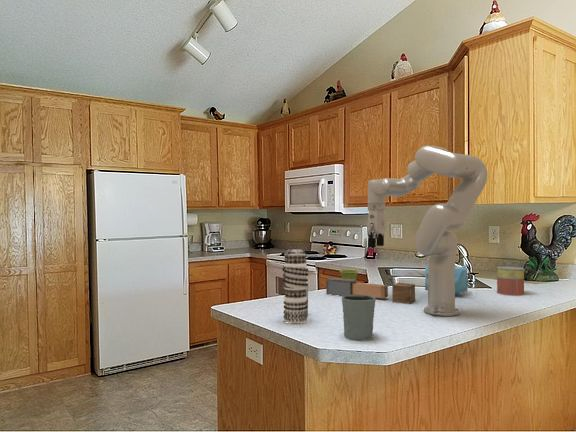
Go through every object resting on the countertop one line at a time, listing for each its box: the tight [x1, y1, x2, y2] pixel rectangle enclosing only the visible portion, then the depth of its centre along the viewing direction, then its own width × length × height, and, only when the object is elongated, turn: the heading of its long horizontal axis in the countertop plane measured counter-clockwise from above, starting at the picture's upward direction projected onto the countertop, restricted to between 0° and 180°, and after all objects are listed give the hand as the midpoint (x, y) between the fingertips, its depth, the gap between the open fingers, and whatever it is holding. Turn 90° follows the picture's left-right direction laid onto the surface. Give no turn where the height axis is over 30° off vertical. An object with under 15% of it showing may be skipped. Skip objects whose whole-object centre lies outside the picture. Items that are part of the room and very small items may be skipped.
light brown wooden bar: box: [351, 282, 389, 299], centre depth 190 cm, size 4×26×5 cm, turn 57°
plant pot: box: [339, 269, 359, 279], centre depth 212 cm, size 9×9×9 cm
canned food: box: [496, 265, 525, 297], centre depth 196 cm, size 11×11×12 cm
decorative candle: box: [282, 248, 309, 324], centre depth 147 cm, size 9×9×25 cm
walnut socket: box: [391, 282, 416, 305], centre depth 179 cm, size 7×8×7 cm
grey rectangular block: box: [325, 276, 358, 297], centre depth 195 cm, size 7×12×7 cm, turn 57°
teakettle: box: [424, 263, 469, 297], centre depth 194 cm, size 19×19×15 cm
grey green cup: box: [341, 295, 377, 341], centre depth 129 cm, size 10×10×12 cm
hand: (376, 246), depth 186 cm, fingers open, 9 cm apart
